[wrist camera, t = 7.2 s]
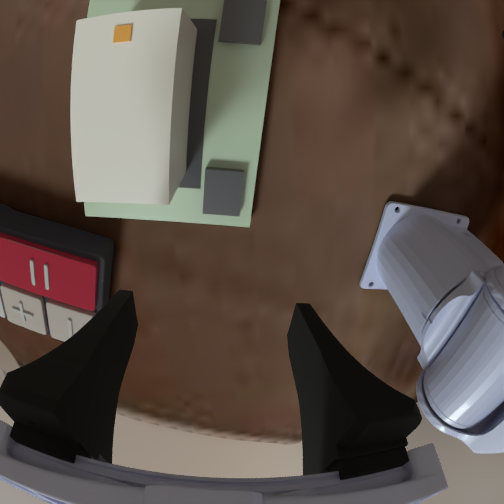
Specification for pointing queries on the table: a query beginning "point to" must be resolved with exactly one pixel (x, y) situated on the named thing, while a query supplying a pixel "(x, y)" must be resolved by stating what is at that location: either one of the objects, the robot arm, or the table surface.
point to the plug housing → (131, 105)
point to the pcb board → (214, 110)
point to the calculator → (51, 274)
